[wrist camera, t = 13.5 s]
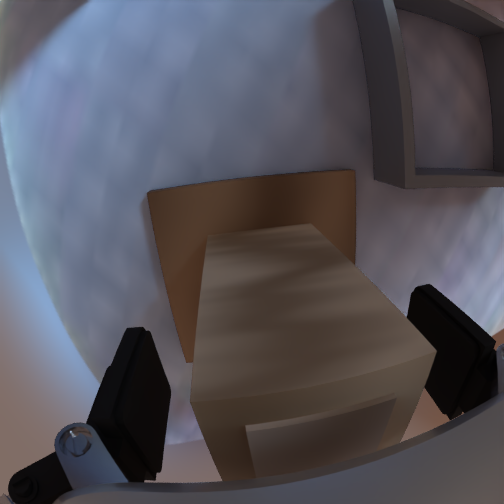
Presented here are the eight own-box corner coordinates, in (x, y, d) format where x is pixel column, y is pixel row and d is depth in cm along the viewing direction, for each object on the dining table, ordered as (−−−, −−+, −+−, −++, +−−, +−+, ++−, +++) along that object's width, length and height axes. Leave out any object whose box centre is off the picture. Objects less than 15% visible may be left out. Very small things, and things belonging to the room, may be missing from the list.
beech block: (310, 223, 14) (440, 355, 5) (312, 310, 16) (390, 467, 7) (207, 235, 14) (189, 408, 5) (222, 323, 16) (231, 502, 6)
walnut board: (350, 169, 14) (355, 170, 14) (346, 333, 18) (349, 338, 17) (149, 190, 14) (147, 192, 13) (187, 356, 17) (186, 362, 17)
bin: (482, 32, 11) (510, 26, 8) (497, 178, 15) (527, 187, 12) (350, -10, 11) (373, -32, 8) (374, 179, 15) (404, 188, 12)
